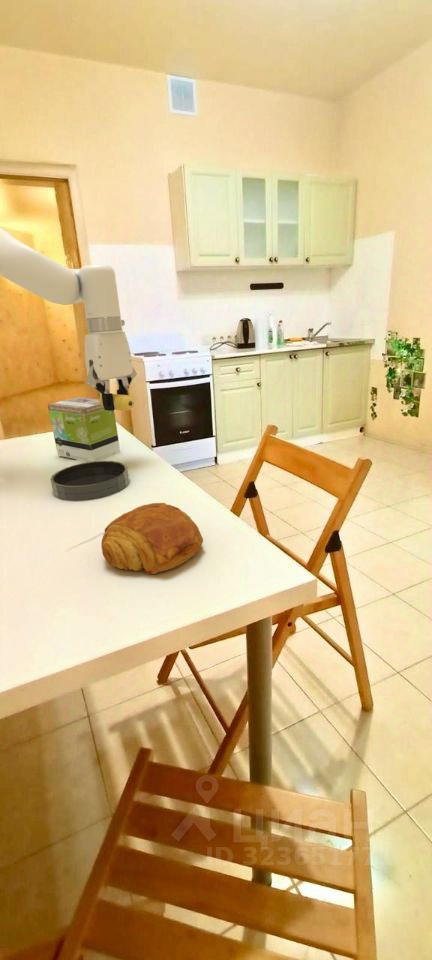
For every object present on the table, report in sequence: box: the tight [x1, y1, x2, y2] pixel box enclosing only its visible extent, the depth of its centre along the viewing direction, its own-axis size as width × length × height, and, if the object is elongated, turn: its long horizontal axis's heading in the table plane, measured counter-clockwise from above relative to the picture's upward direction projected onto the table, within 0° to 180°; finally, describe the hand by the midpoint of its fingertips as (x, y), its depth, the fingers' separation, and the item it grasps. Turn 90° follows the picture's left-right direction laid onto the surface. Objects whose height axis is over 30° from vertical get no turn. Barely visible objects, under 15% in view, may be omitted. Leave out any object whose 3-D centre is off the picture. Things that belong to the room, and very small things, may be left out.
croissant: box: [101, 502, 204, 575], centre depth 68 cm, size 14×16×8 cm
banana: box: [98, 393, 134, 412], centre depth 105 cm, size 11×4×4 cm, turn 50°
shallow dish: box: [49, 460, 131, 502], centre depth 97 cm, size 16×16×4 cm
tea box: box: [47, 396, 121, 463], centre depth 119 cm, size 15×10×15 cm, turn 55°
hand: (116, 407), depth 106 cm, fingers closed on banana, 3 cm apart
